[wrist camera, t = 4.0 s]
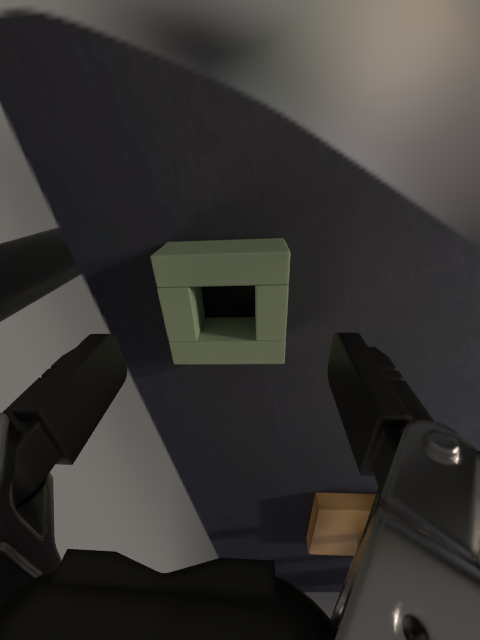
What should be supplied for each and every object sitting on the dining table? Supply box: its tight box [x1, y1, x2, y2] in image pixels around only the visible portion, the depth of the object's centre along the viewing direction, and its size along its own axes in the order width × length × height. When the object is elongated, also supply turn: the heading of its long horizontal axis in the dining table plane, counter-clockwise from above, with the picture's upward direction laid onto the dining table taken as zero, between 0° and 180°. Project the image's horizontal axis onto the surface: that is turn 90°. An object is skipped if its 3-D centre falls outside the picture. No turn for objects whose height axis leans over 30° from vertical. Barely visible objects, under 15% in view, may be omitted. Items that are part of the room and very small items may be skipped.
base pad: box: [307, 492, 376, 556], centre depth 24 cm, size 10×10×6 cm
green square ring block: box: [150, 238, 290, 364], centre depth 13 cm, size 6×6×3 cm
